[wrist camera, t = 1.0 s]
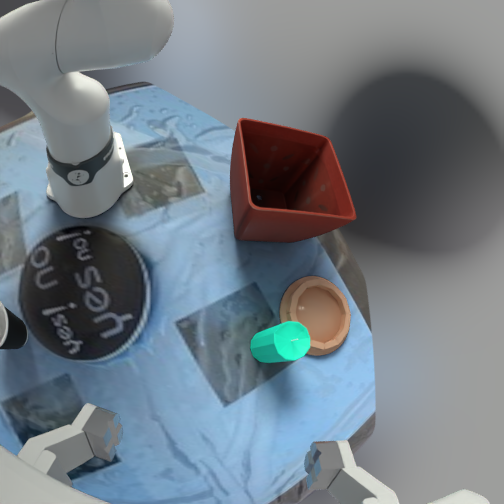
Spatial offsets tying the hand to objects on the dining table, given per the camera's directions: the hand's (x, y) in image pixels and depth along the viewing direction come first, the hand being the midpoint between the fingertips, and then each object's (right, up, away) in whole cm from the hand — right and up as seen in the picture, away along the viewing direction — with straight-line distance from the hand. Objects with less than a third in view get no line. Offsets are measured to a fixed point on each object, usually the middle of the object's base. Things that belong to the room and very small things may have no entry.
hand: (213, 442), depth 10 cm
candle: (+4, -9, +39) cm, 41 cm away
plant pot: (+4, +16, +50) cm, 53 cm away
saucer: (+14, -5, +45) cm, 47 cm away
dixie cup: (-38, -6, +25) cm, 46 cm away
